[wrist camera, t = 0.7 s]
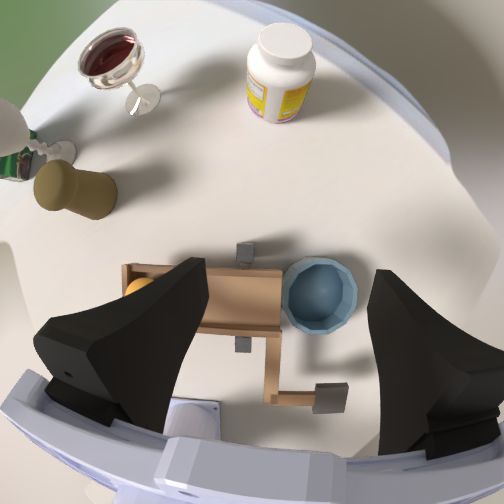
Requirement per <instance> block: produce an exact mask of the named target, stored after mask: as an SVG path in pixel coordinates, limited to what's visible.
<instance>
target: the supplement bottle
mask: <svg viewBox="0 0 504 504" xmlns="http://www.w3.org/2000/svg"><path fill="white" fill-rule="evenodd" d="M312 47H313V42H312V39H311V37H310V35H309V34H308V33H307V32H306V31H305V30H304V29H302V28H301V27H299V26H297V25H294V24H290V23H274V24H270V25H268V26H266V27H265V28H263V29H262V30H261V32H260V34H259V37H258V42H257V43H255V44H254V45H253V46H252V48H251V49H250V51H249V53H248V56H247V100H248V105H249V107H250V109H251V111H252V112H253V113H254V114H255V115H256V116H257V117H258V118H260V119H261V120H264V121H266V122H270V123H282V122H286V121H288V120H290V119H292V118H293V117H295V116H296V115H297V113H298V112H299V110H300V108H301V106H302V104H303V101H304V98H305V96H306V94H307V91H308V89H309V86H310V83H311V81H312V78H313V76H314V73H315V69H316V61H315V58H314V55H313V53H312V52H311V50H312Z"/></svg>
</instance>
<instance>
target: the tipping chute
mask: <svg viewBox="0 0 504 504" xmlns="http://www.w3.org/2000/svg"><path fill="white" fill-rule="evenodd" d="M174 267H176V266H172V265H151V264H139V263H131V264H125V265H122V294H123V297H124V296H125V293H126V290H127V288H128V286H129V285H130V284H131V283H132V282H133V281H134V280H136V279H139V278H150V279H153V280H155V279H157V278H159V277H160V276H162V275H163V274H165V273H167V272H168V271H170V270H171V269H173V268H174ZM206 274H207V282H208V289H209V300H208V304H207V307H206V310H205V313H204V316H203V319H202V321H201V323H200V325H199V327H198V329H197V331H196V333H205V334H217V335H230V336H247V337H266V357H265V379H264V399H263V403H267V404H270V405H272V406H313V407H312V411H313V414H327V413H344V410H345V405H346V400H347V394H348V389H349V386H348V384H347V383H319V384H316V385H315V391H278V388H279V373H280V358H281V341H282V330H280V310H281V286H282V270H279V269H251V263H241V268H219V267H206Z"/></svg>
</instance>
